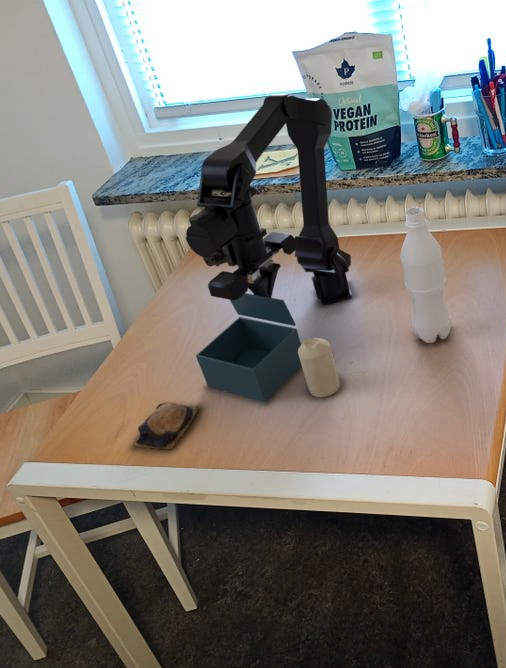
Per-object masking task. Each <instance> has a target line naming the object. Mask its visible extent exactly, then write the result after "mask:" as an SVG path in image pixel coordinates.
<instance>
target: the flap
mask: <svg viewBox="0 0 506 668" xmlns="http://www.w3.org/2000/svg"><path fill="white" fill-rule="evenodd" d="M229 301H230V303H231V305H232V306H233V309H234V310H235V312H236V313H237V315H240V316H243V317H248V318H253V319H257V320H258V319H259V320H263V321H266V322H271V323H272V322H273V323H277V324H283V325H286V326H287V325H288V326H293V327H296V322H295V320H294V318H293V316H292V314H291V312H290V310H289V308H288V306H287V303H286V302H285V300H284V299H280V298H274V297H271V298H269V297H264V296H258V295H254V294H253V293H247V292H246V293H245V294H243V295H242V296H241V297H240V298H239V299H236V300H229Z"/></svg>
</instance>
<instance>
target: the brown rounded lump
mask: <svg viewBox="0 0 506 668" xmlns="http://www.w3.org/2000/svg"><path fill="white" fill-rule="evenodd" d="M198 410H199V408H198V406H196V405H192V404H179V403H173V402H164V403H159V404H158V406H156V407H155V410H154V411H153V412H152V414H151V415H149V416H148V417H147V418H146V419H145V421H144V422H143V423H142V424H140V425H139V426H138V428H137V430H138V433H139V436H138V437H137V439H136V441H135V443H134V446H135V447H136V448H139V449H140V448H141V449H148V450H151V449H154V450H168V451H170V450H172V449H173V448H174V447H175V445H176V444H177V443H178V441H180V438H182V437H183V435H184V432H185V431H186V430H187V429H188V428H189V426H190V425H191V423H192V421H193V420H194V418H195V416H196V415H197V413H198Z"/></svg>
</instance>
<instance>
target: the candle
mask: <svg viewBox="0 0 506 668" xmlns="http://www.w3.org/2000/svg"><path fill="white" fill-rule="evenodd" d="M298 355H299V358H300V361H301V369H302V371H303V375H304V377H305V381H306V386H307V388H308V392H309V393H310V394H311V395H312V396H313V397H316V398H325V397H329V396H332V395H333V394H335V393H337V391H338V390H339V389H340V385H341V383H340V378H339V375H338V370H337V367H336V363H335V360H334V355H333V351H332V348H331V343H330V342H329V341H328V340H326V339H324V338H320V337H307V338H305V339H304V340H303V342H301V346H300V347H299V349H298Z"/></svg>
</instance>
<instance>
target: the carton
mask: <svg viewBox="0 0 506 668" xmlns="http://www.w3.org/2000/svg"><path fill="white" fill-rule="evenodd" d="M301 345H302V342H301V339H300V336H299V332H298V329H297V328H295V327H291V326H287V325H281V324H278V323H277V324H276V323H272V322H268V321H261V320H258V319H252V318H247V317H244V316H243V317H242V316H238V317H237V319H235V320H234V321H233V322H232V323H231V324H230V325H228V326H227V327H226V328H225V329H224V330H223V331H222V332H221V333H219V334H218V335H217V336H216V337H215V338H213V340H211V341H210V342H208V344H207V345H205V347H204V348H202V349H201V350H200V351H199V352H198V353H197V354H196V355H195V357H196V358H195V359H196V361H197V363H198V365H199V367H200V369H201V372H202V375H203V378H204V380H205V383H206V385H207V387H208V388H210V389H214V390H216V391H217V390H218V391H221V392H225V393H229V394H232V395H236V396H239V397H243V398H246V399H250V400H254V401H258V402H261V403H264V404H265V403H267V402H268V401H269V400H270V399H271V397H272V396H274V395H275V393H276V392H277V391H278V390H279V389H280V388H281V387H282V386H283V385H284V384H286V382H287V381H288V380H289V379H290V378H291V377H292V376H293V375H294V374H295V373H296V372H297V370H299V368H301V367H302V365H301V361H300V358H299V355H298V349H299V347H300V346H301Z"/></svg>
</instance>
